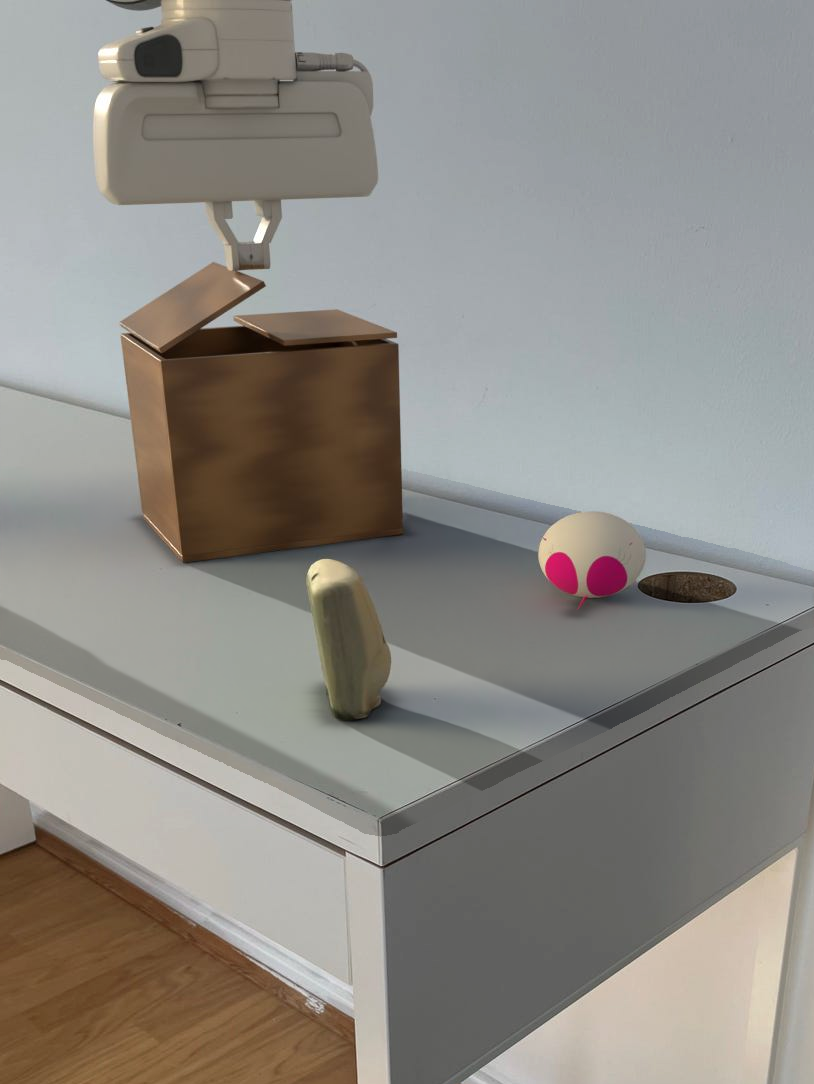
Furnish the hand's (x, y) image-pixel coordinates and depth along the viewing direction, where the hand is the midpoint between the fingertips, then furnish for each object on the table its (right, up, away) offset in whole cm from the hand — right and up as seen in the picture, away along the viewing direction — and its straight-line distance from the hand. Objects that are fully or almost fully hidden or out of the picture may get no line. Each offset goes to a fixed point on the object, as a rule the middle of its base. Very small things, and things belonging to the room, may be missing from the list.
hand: (248, 269), depth 98 cm
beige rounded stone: (+9, -35, -21) cm, 41 cm away
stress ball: (+25, -25, -5) cm, 36 cm away
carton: (0, -17, +10) cm, 19 cm away
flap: (-4, -3, 0) cm, 5 cm away
